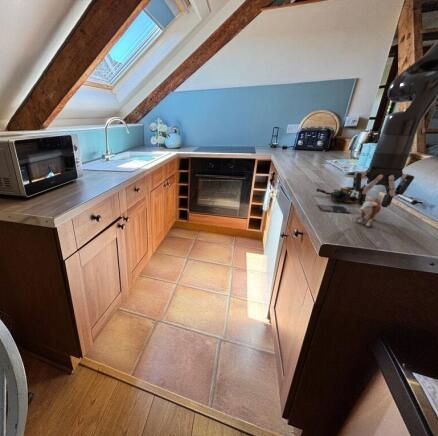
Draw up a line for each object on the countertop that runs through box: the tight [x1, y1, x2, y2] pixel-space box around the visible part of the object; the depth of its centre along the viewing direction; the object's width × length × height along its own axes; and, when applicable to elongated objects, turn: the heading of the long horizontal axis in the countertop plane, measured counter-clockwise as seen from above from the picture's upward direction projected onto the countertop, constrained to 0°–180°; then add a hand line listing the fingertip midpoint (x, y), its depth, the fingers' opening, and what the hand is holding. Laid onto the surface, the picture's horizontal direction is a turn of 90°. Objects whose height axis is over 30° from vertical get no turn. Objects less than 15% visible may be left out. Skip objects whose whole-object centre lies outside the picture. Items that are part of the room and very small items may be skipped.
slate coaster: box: [318, 204, 350, 214], centre depth 91 cm, size 8×6×1 cm
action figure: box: [316, 186, 367, 204], centre depth 100 cm, size 6×15×15 cm
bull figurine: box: [357, 197, 382, 228], centre depth 77 cm, size 4×13×8 cm, turn 128°
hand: (371, 205), depth 77 cm, fingers closed on bull figurine, 5 cm apart
